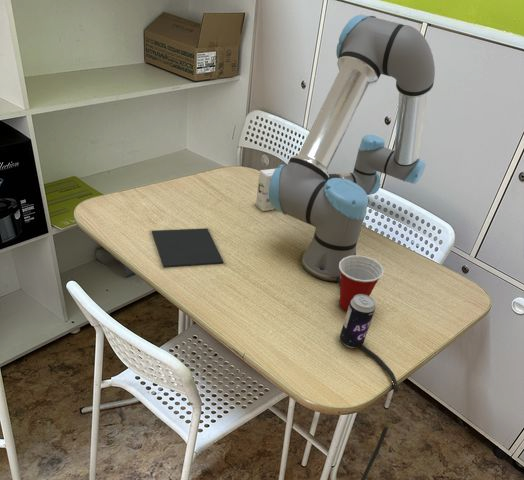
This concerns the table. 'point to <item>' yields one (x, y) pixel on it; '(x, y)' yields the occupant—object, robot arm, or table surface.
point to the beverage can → (357, 320)
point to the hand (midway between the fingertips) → (279, 188)
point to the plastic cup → (358, 277)
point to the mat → (186, 247)
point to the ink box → (264, 190)
